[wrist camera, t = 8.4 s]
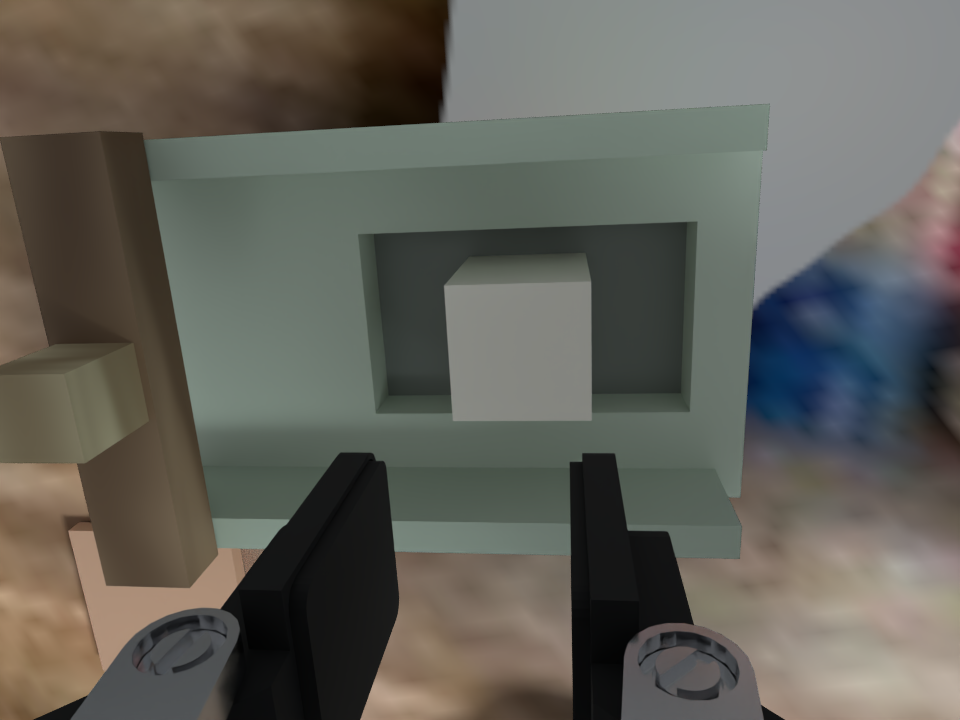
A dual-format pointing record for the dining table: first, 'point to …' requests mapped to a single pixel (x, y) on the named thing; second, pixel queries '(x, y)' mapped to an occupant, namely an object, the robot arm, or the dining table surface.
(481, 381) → the cream block
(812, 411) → the dining table surface
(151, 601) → the terracotta coaster
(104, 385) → the latch bar
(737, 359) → the puzzle board
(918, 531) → the dining table surface
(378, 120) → the dining table surface
